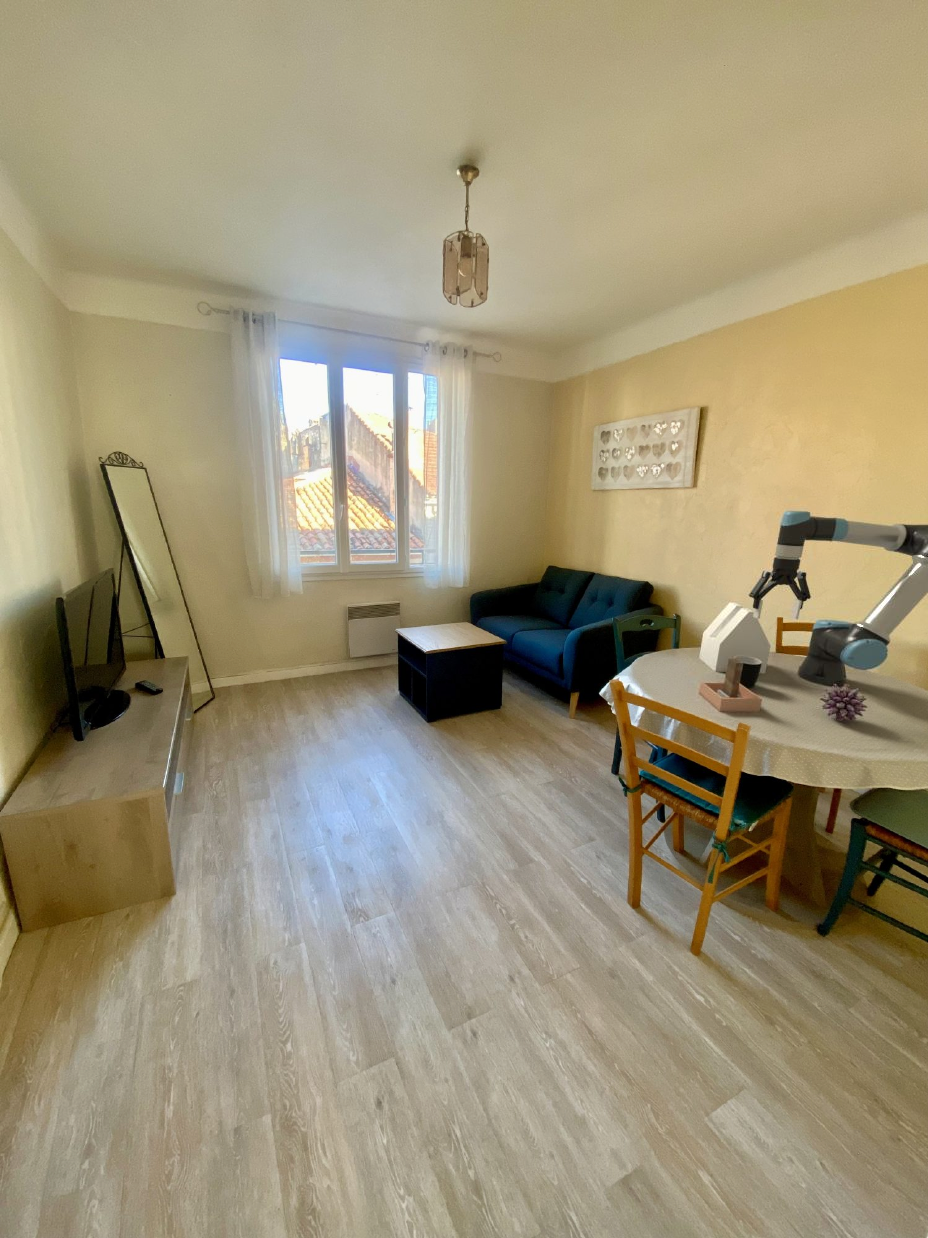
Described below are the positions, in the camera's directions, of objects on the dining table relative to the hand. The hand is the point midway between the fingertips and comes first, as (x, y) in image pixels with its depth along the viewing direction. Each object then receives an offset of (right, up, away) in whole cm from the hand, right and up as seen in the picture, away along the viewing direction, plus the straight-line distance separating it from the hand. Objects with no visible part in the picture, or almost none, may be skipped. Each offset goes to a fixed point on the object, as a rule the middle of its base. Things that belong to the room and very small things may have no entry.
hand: (775, 618), depth 167 cm
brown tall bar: (-19, -28, -5) cm, 34 cm away
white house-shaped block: (+1, -20, +30) cm, 36 cm away
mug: (-6, -25, +11) cm, 28 cm away
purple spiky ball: (+10, -33, -15) cm, 37 cm away
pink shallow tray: (-19, -29, -5) cm, 35 cm away
